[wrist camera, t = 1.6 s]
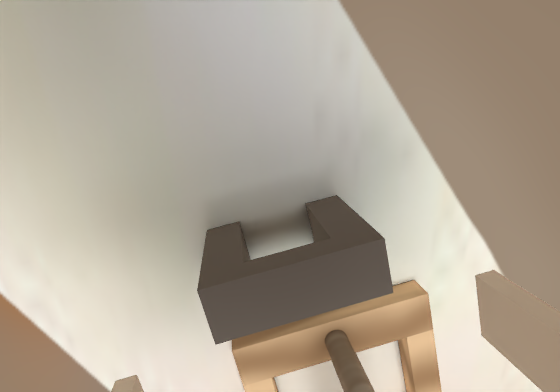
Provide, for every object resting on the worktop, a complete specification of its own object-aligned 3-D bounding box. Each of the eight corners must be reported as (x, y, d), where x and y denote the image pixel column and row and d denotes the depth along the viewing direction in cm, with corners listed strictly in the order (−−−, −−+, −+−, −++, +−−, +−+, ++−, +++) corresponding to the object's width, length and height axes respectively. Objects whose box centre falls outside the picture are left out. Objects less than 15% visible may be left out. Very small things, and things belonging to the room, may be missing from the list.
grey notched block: (219, 269, 25) (215, 344, 18) (207, 230, 25) (197, 290, 17) (344, 235, 26) (393, 293, 18) (336, 195, 25) (384, 238, 17)
